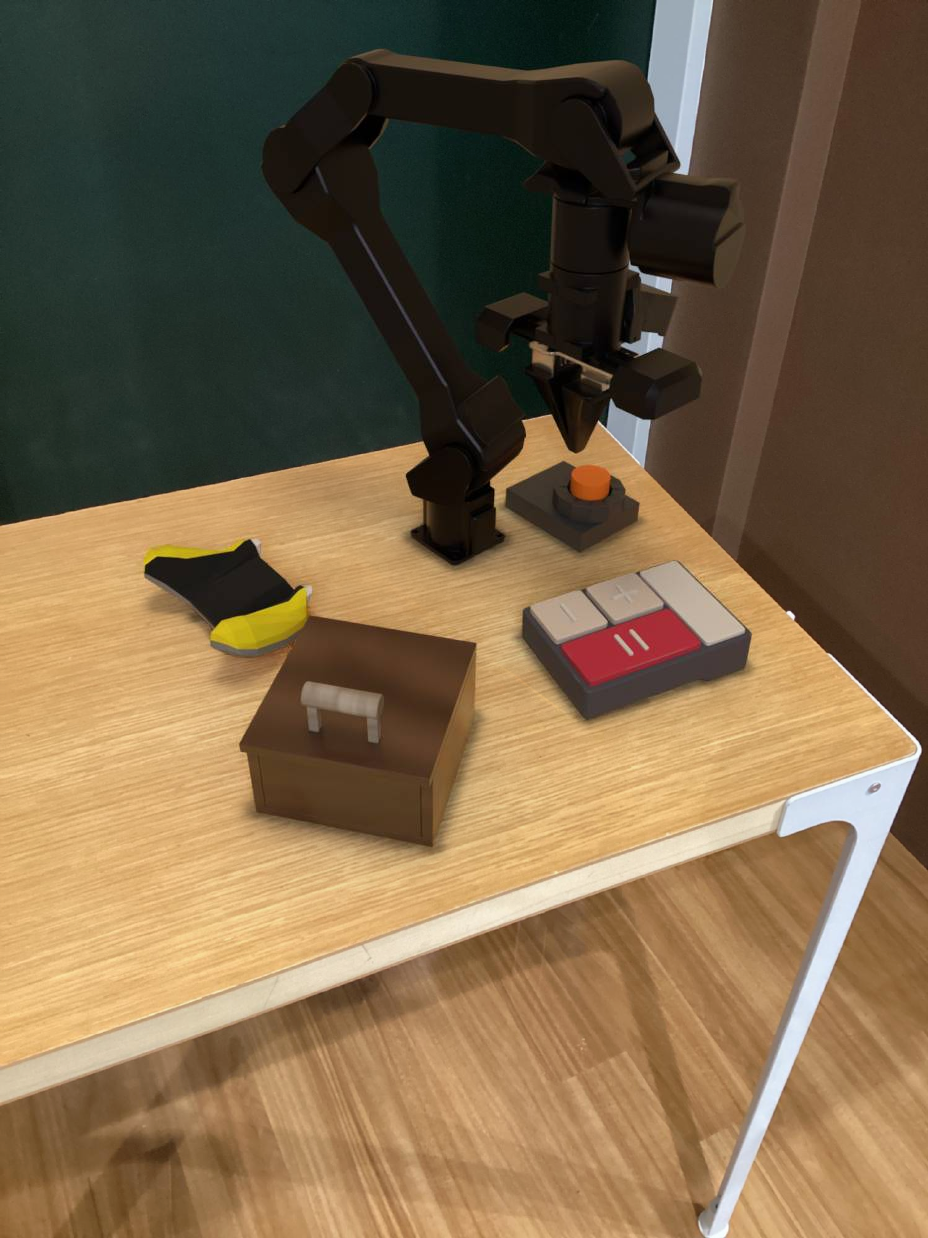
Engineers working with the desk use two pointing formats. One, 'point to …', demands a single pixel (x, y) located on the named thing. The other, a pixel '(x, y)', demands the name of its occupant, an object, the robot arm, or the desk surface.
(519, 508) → the console
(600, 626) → the calculator
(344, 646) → the lid
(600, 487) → the button
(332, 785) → the chest
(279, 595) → the gaming controller
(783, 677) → the desk surface
